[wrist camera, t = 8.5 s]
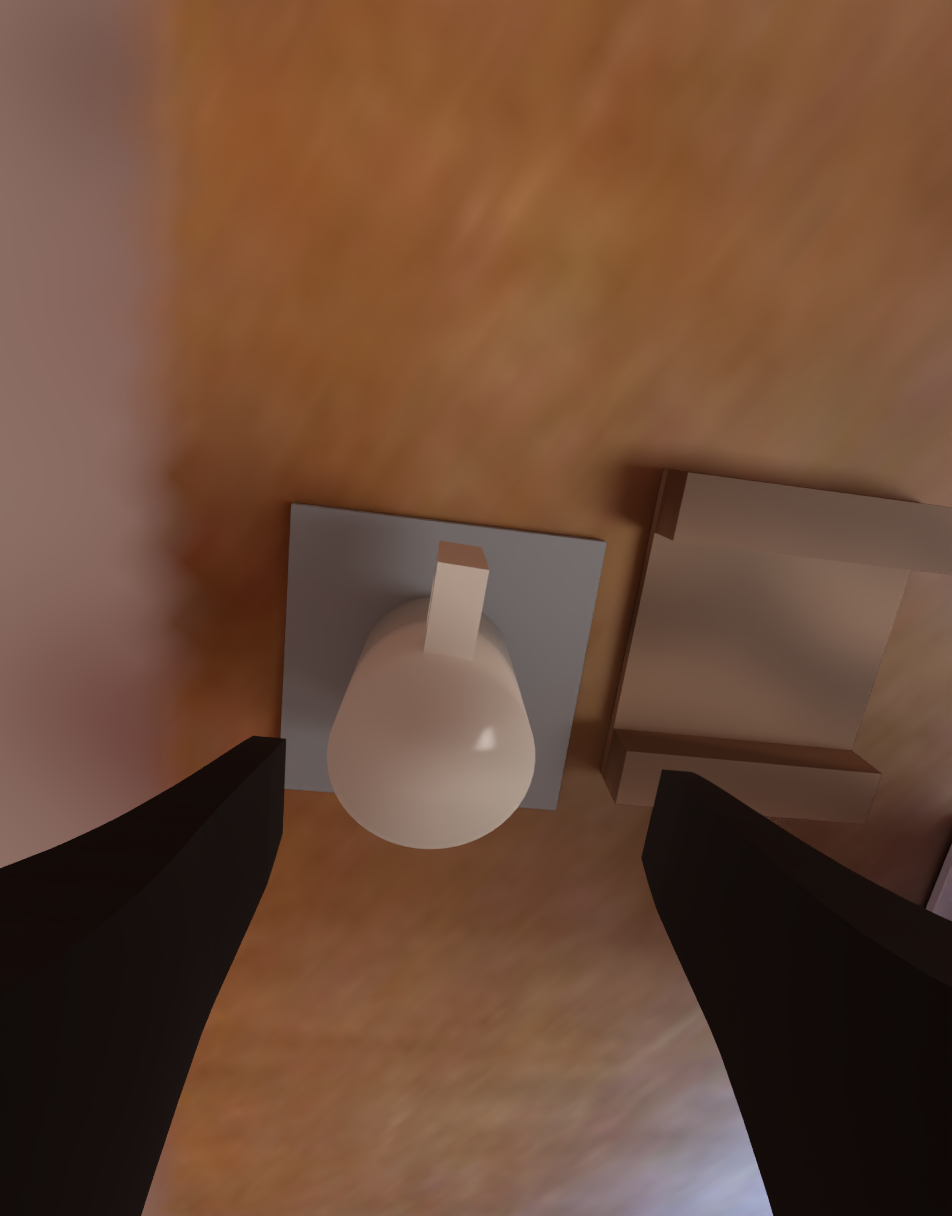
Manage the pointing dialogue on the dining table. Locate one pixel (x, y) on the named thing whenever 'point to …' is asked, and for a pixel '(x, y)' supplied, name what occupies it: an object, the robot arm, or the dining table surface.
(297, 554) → the grey mat
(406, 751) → the cream jug
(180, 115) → the dining table surface
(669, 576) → the walnut cradle
